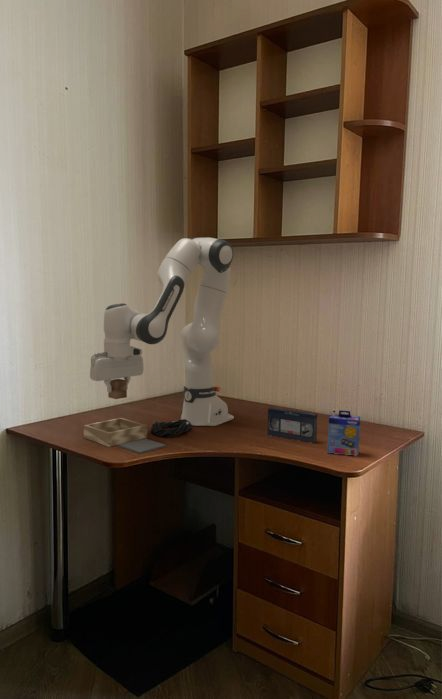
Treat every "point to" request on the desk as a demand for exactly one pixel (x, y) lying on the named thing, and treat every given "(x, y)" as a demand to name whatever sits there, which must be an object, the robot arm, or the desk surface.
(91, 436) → the crate
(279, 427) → the vhs cassette tape
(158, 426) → the cable
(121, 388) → the block
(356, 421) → the ink cartridge box
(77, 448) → the desk surface
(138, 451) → the pad
